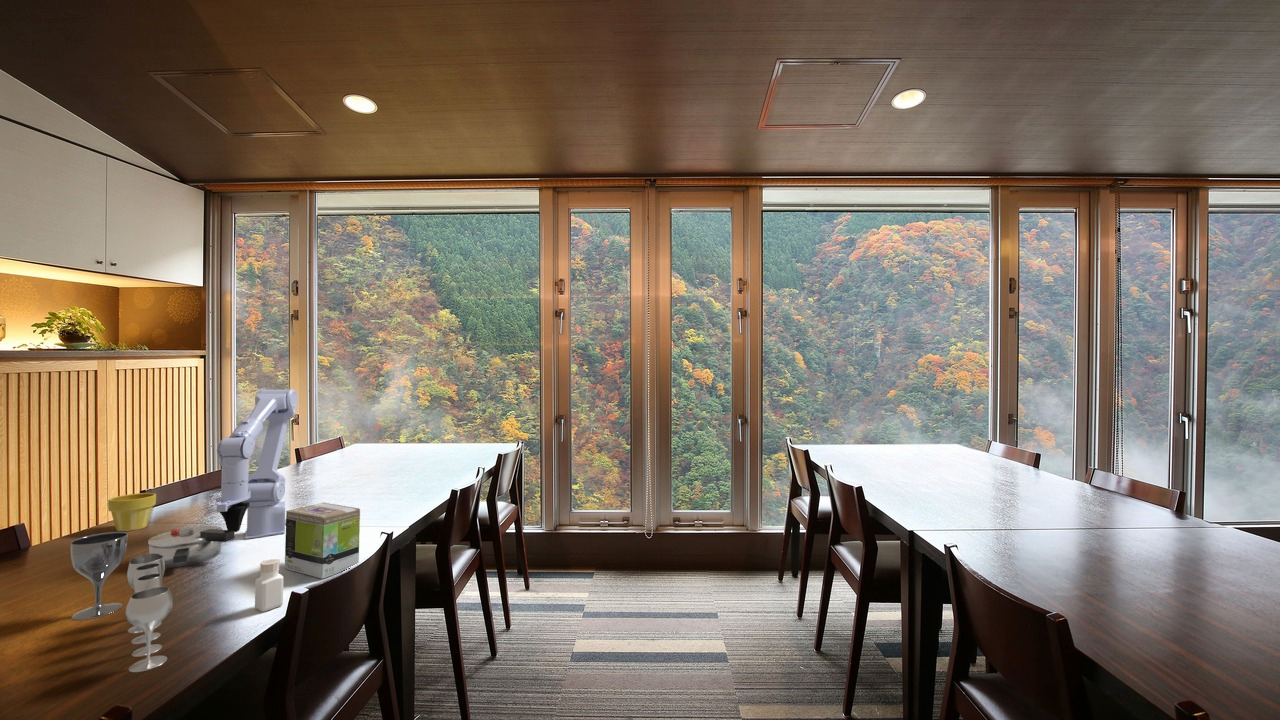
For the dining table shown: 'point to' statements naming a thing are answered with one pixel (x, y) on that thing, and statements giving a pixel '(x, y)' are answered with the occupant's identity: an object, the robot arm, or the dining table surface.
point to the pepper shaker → (269, 586)
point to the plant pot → (131, 510)
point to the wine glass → (98, 566)
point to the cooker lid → (191, 536)
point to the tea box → (322, 539)
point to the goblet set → (147, 607)
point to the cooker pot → (187, 553)
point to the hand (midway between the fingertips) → (233, 531)
